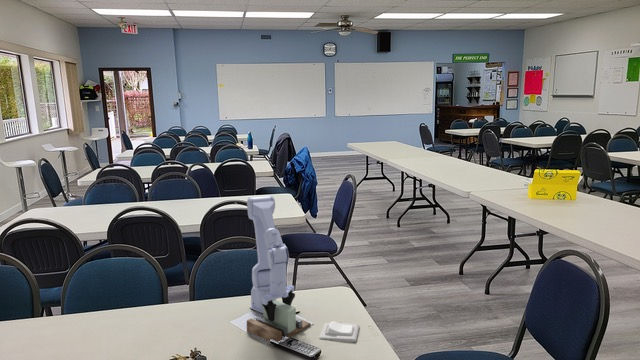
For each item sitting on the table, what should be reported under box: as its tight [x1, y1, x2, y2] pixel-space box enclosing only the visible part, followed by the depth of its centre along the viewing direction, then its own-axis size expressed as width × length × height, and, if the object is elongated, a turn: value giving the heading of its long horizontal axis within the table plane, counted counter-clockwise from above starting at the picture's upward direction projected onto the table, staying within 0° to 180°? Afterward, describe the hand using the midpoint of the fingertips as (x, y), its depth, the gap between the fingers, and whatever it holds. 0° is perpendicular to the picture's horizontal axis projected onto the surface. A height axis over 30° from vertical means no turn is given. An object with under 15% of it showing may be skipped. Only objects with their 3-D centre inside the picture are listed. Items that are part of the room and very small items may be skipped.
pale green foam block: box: [262, 299, 297, 333], centre depth 160 cm, size 5×12×8 cm, turn 51°
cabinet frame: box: [246, 316, 312, 342], centre depth 160 cm, size 15×17×4 cm
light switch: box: [318, 320, 360, 343], centre depth 157 cm, size 11×4×13 cm
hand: (278, 316), depth 159 cm, fingers open, 7 cm apart
